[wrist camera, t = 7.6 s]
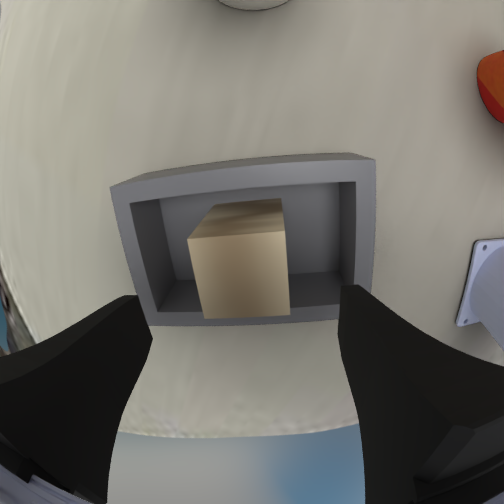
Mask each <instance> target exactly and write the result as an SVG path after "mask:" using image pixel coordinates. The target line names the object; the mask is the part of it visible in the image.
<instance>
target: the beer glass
mask: <svg viewBox="0 0 504 504" xmlns="http://www.w3.org/2000/svg"><path fill="white" fill-rule="evenodd" d="M218 1H220V2H221V3H223V4H225V5H227V6H230V7H233V8H237V9H242V10H263V9H269V8H273V7H276V6H279V5H281V4H283V3H285V2H287V1H288V0H218Z"/></svg>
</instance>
